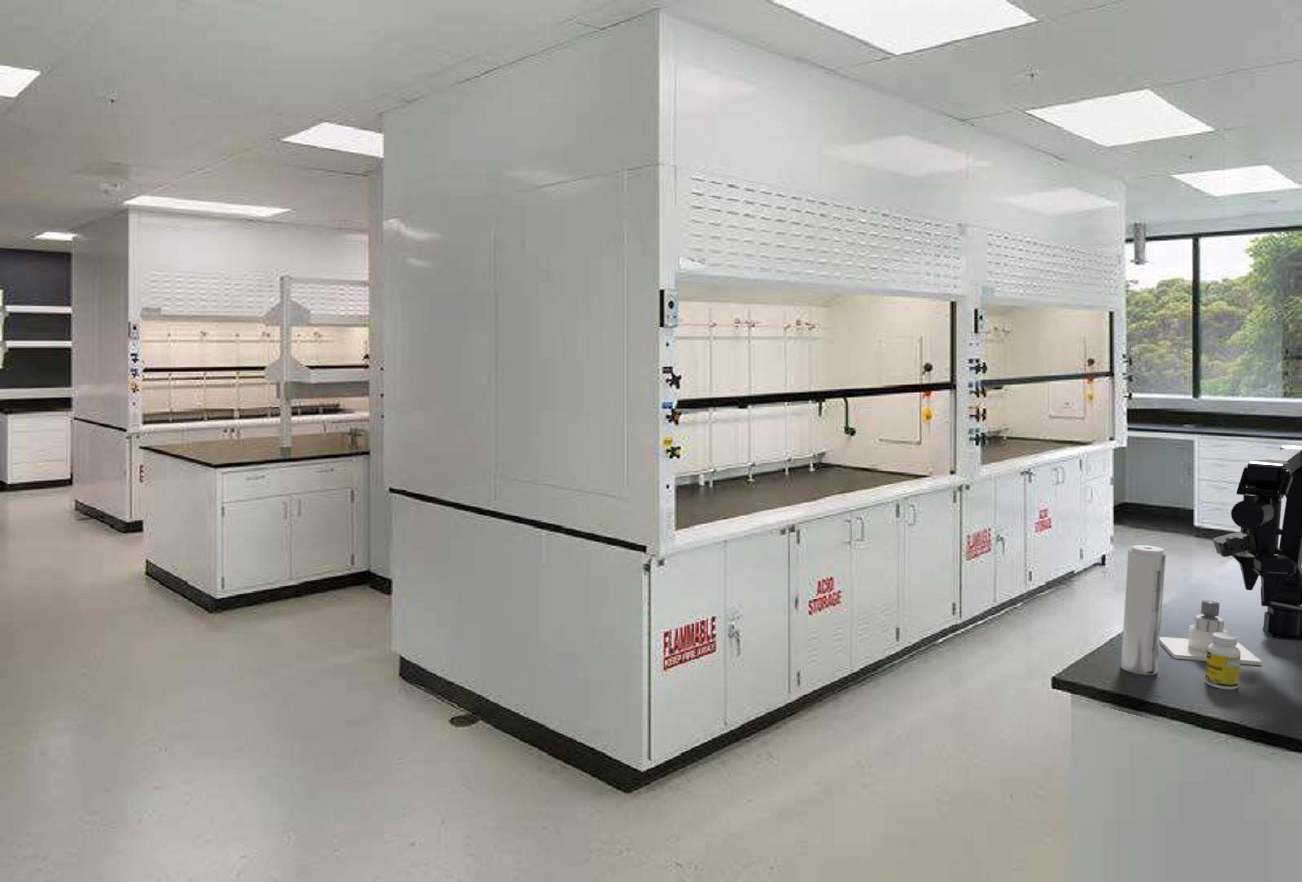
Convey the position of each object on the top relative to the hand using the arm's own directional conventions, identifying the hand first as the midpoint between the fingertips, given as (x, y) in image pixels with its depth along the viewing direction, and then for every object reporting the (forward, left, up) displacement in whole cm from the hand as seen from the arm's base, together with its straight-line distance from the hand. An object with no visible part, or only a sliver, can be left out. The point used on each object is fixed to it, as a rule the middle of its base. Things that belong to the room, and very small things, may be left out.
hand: (1257, 595), depth 186 cm
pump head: (+9, 0, -8) cm, 12 cm away
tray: (+9, 0, -13) cm, 15 cm away
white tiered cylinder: (+9, 0, -13) cm, 15 cm away
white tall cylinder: (+26, +15, -13) cm, 33 cm away
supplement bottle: (+13, +20, -13) cm, 27 cm away
